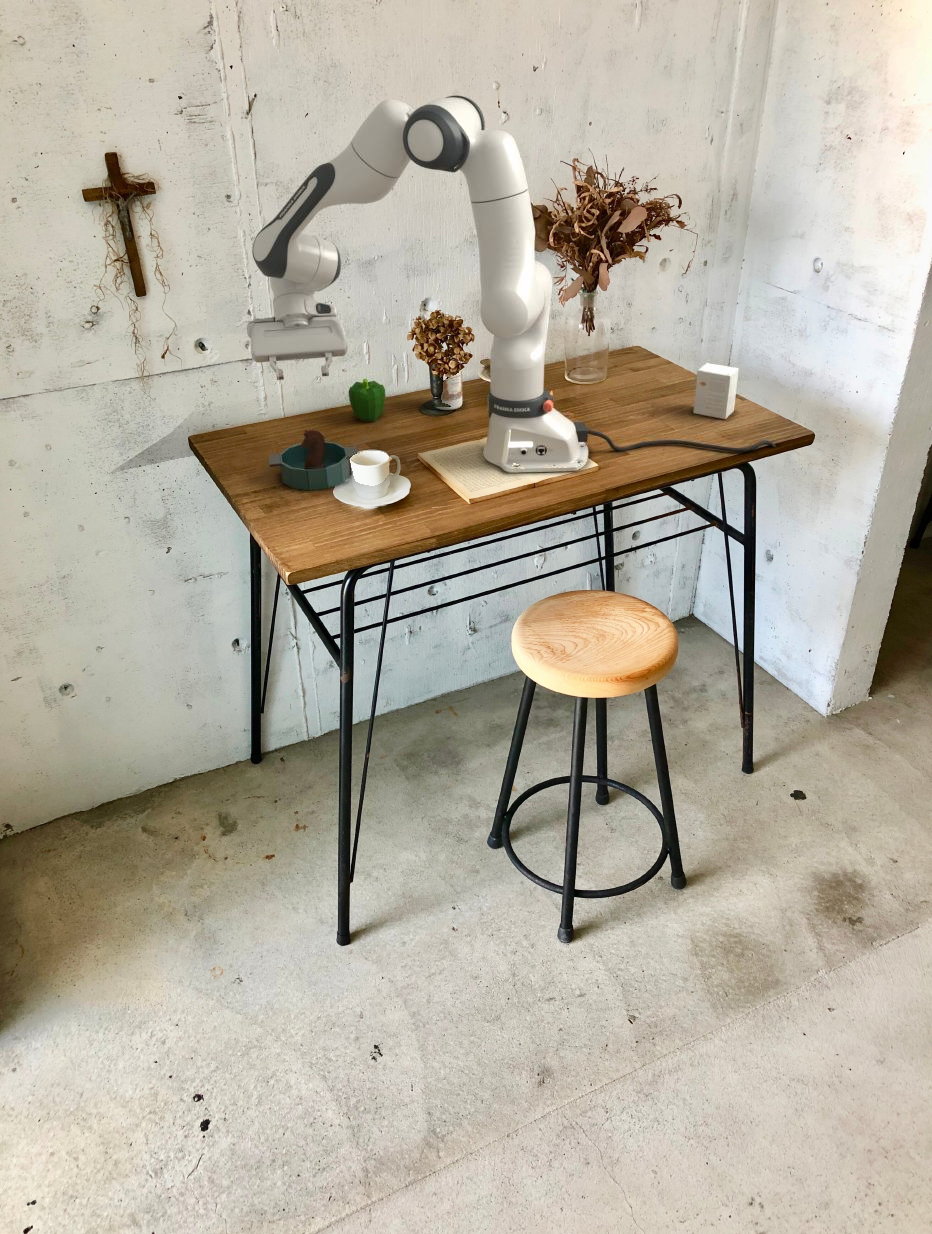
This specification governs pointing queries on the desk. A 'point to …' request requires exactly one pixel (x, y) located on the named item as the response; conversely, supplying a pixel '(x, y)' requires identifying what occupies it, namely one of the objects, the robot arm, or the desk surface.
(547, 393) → the robot arm
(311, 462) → the chess piece
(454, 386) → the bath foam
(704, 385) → the small box
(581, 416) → the desk surface
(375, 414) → the bell pepper
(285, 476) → the cooking pot
